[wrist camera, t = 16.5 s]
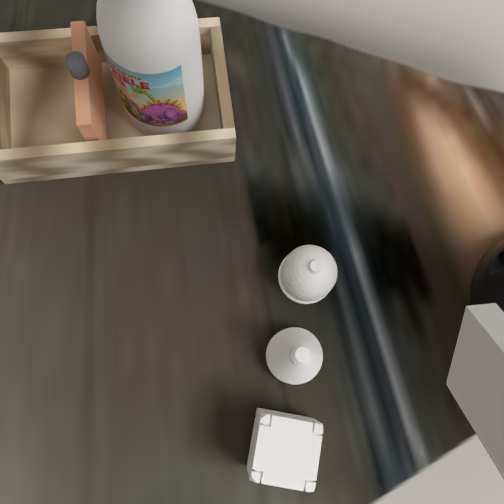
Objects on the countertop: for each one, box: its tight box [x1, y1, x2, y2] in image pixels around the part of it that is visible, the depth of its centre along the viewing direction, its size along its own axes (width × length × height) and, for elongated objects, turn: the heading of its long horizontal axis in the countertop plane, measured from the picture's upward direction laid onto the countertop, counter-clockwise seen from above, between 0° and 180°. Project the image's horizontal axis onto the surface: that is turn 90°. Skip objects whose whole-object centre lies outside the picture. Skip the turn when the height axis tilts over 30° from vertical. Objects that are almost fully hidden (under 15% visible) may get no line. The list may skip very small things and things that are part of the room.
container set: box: [247, 245, 338, 492], centre depth 40 cm, size 20×5×6 cm, turn 170°
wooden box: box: [0, 17, 236, 184], centre depth 44 cm, size 22×13×7 cm, turn 98°
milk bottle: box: [96, 0, 204, 136], centre depth 37 cm, size 8×8×20 cm
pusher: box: [65, 21, 107, 142], centre depth 42 cm, size 2×10×8 cm, turn 8°
